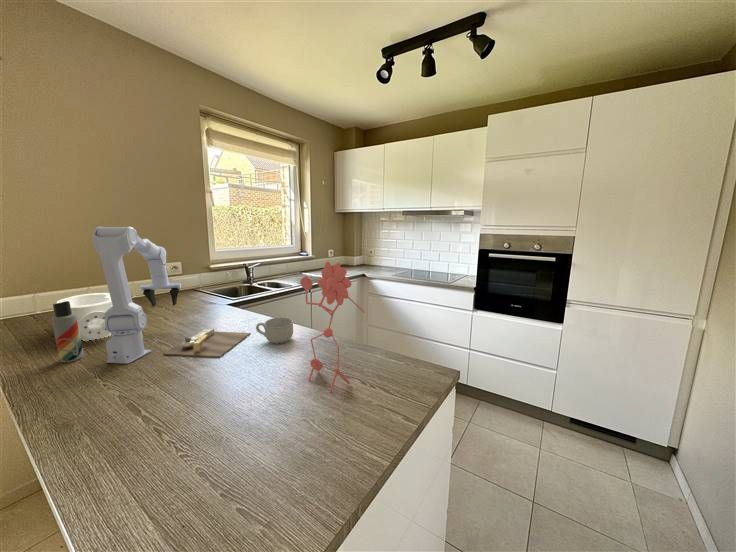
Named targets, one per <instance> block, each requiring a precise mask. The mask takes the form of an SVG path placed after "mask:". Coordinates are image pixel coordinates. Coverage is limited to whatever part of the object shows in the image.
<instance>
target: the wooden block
mask: <svg viewBox="0 0 736 552" xmlns="http://www.w3.org/2000/svg"><path fill="white" fill-rule="evenodd" d="M214 332H215V328H210V327H209V328H205V329H203V330H202V331H200V332H198V333H196V334H195V335H192V336H186V337H184V340H183V341H181V343H182V348H183V349H189V348H192V347H193V343H194V342H195V341H196V340H197V339H198V338H200V337H201V336H202V335H208V337H209V336H211V335H212V334H214ZM208 337H207V338H208Z"/></svg>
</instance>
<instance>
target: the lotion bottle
mask: <svg viewBox="0 0 736 552" xmlns="http://www.w3.org/2000/svg"><path fill="white" fill-rule="evenodd" d="M52 306H53V313H54V316H53V317H51V323H52V328H53V334H54V339H55V343H56V349H57V354H58V358H59V362H60V363H62V362H64V364H66V363H65V362H67V363H72V362H76V361H79V360H81V359H83V358H84V350H83V343H82V341H81V338H80V332H79V327H78V322H77V317H76V314H72V311H71V307H70V302H69V301H65V302H61V303H57V302H56V303H53V304H52Z"/></svg>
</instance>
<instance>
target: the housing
mask: <svg viewBox="0 0 736 552" xmlns="http://www.w3.org/2000/svg"><path fill="white" fill-rule="evenodd" d="M65 301H69V302H70V307H71V311H72V314H76V317H77V322H78V327H79V332H80V338H81V340H83V341H85V342H90V341H89V340H92V341H96V340H95V339H97V340H101V339H104V337H105V338H108V336H109V337H112V336H111V332H109V331H108V330H107V329H106V328H105V315H104V314H105V312H106V311H107V310H108V309H109V308H111V307H112V306H113V305H112V301H111V297H110V293H109V292H93V293H92V292H91V293H84V294H78V295H72V296H69V297H65V298H62V299H59V300H57V301H56V304H57V303H61V302H65ZM100 338H101V339H100ZM83 341H82V342H83Z"/></svg>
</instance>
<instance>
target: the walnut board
mask: <svg viewBox="0 0 736 552" xmlns="http://www.w3.org/2000/svg"><path fill="white" fill-rule="evenodd" d="M247 336H248V337H249V336H251V332H237V331H235V332H233V331H232V332H231V331H214V334H212V335H211V336H209V337H208V338H206V339H205V340H204V341H203V342H202V349H203V350H202V351H201V352H200V353H194V347H192V348H189V349H183V348H182V342H181V343H179V344H177V345H175V346H174V347H172V348H170V349H168V350H167V351H165V352H163V353H162V354H163V356H175V355H179V356H178V357H195V356H199V358H200V357H201V358H215V357H221V356H222V355H223V356H225V355H226V354H227V353H229V352H230V351H231V350H232V349H234V348H235V347H236V346H238V345H239V344H240V343H242V340H243V339H244V340H245V339H246V338H248V337H247ZM244 340H243V341H244ZM238 343H239V344H238ZM234 346H235V347H234ZM233 347H234V348H233ZM230 349H231V350H230ZM229 350H230V351H229ZM226 352H227V353H226ZM225 353H226V354H225ZM224 354H225V355H224ZM223 356H222V357H223ZM222 357H221V358H222Z"/></svg>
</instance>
